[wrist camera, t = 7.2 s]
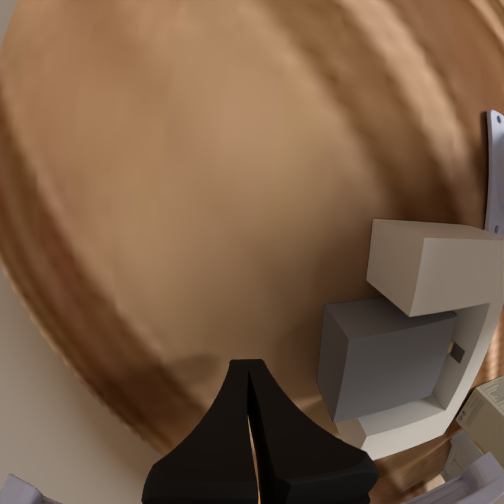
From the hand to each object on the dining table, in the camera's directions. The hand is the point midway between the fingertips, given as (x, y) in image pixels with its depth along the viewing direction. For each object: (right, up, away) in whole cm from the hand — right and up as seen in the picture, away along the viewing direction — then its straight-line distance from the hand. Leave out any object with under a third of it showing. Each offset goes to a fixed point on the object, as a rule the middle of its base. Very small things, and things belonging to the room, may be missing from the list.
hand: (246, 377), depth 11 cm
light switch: (+25, -20, +10) cm, 33 cm away
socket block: (+9, +1, +3) cm, 10 cm away
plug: (+7, +1, +3) cm, 7 cm away
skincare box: (+23, -9, +7) cm, 26 cm away
